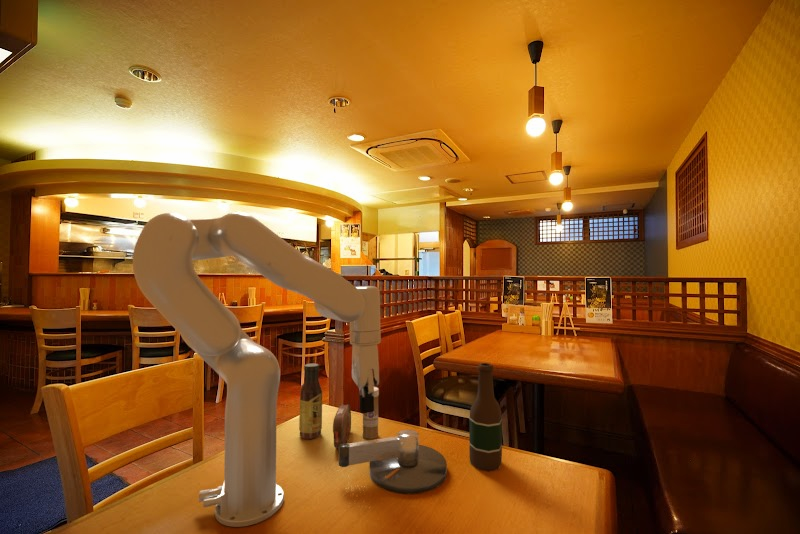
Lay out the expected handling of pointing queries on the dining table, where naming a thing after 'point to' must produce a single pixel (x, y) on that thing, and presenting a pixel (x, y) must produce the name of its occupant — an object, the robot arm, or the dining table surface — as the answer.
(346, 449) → the dial lever
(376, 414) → the sprinkles bottle
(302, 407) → the sauce bottle
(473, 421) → the beer bottle
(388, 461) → the dial plate
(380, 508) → the dining table surface
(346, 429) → the tin
